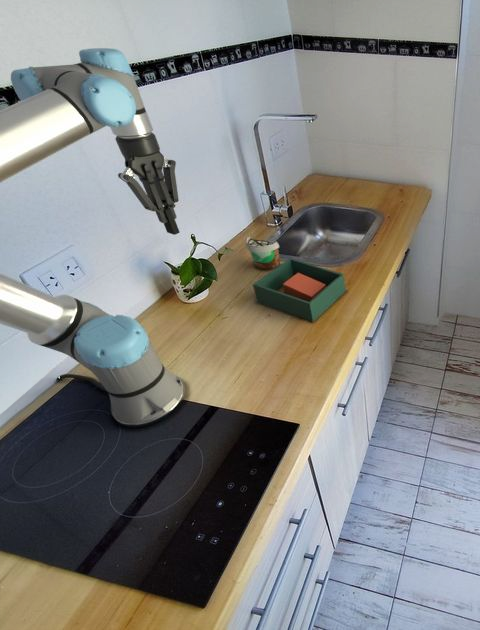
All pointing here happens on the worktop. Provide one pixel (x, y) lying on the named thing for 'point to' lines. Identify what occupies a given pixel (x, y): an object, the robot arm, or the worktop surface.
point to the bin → (296, 306)
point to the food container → (264, 253)
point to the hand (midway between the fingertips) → (173, 232)
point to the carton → (303, 287)
